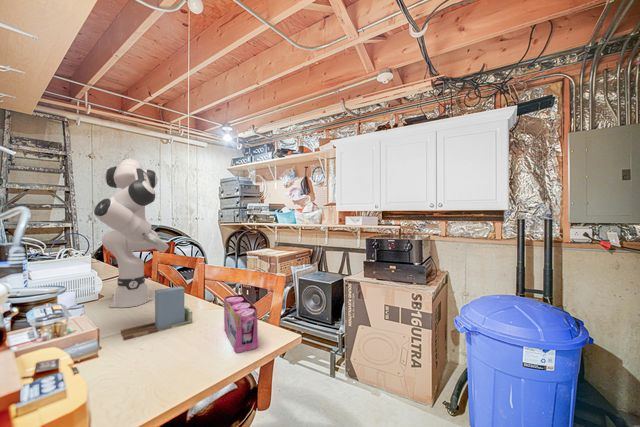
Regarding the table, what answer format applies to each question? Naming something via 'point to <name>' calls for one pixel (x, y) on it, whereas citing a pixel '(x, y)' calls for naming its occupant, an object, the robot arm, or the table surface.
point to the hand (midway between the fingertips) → (165, 247)
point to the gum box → (240, 323)
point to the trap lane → (151, 327)
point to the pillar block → (169, 307)
